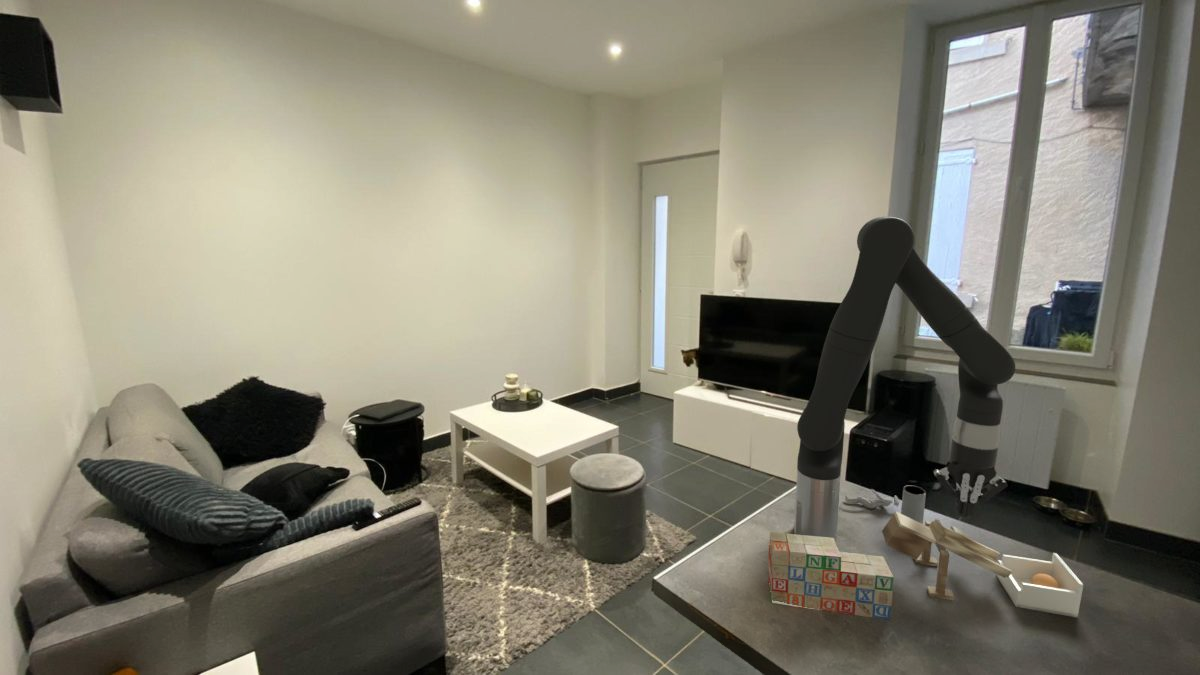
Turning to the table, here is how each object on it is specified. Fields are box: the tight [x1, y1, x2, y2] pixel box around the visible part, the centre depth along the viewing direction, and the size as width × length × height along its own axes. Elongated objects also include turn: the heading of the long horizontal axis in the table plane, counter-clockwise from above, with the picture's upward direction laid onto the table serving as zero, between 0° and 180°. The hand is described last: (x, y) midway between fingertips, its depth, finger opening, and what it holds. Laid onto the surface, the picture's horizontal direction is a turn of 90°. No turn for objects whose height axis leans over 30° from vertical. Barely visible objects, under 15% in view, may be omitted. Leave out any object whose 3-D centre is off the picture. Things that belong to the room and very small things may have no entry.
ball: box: [1032, 574, 1060, 589], centre depth 94 cm, size 4×4×4 cm
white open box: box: [995, 552, 1084, 618], centre depth 94 cm, size 9×9×7 cm
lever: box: [881, 510, 1012, 578], centre depth 101 cm, size 20×13×8 cm, turn 72°
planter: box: [900, 484, 927, 525], centre depth 116 cm, size 4×4×10 cm
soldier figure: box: [844, 488, 900, 510], centre depth 126 cm, size 8×5×12 cm
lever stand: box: [914, 520, 955, 601], centre depth 100 cm, size 4×12×10 cm, turn 160°
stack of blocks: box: [768, 531, 895, 621], centre depth 95 cm, size 21×6×12 cm, turn 76°
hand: (963, 515), depth 102 cm, fingers closed
